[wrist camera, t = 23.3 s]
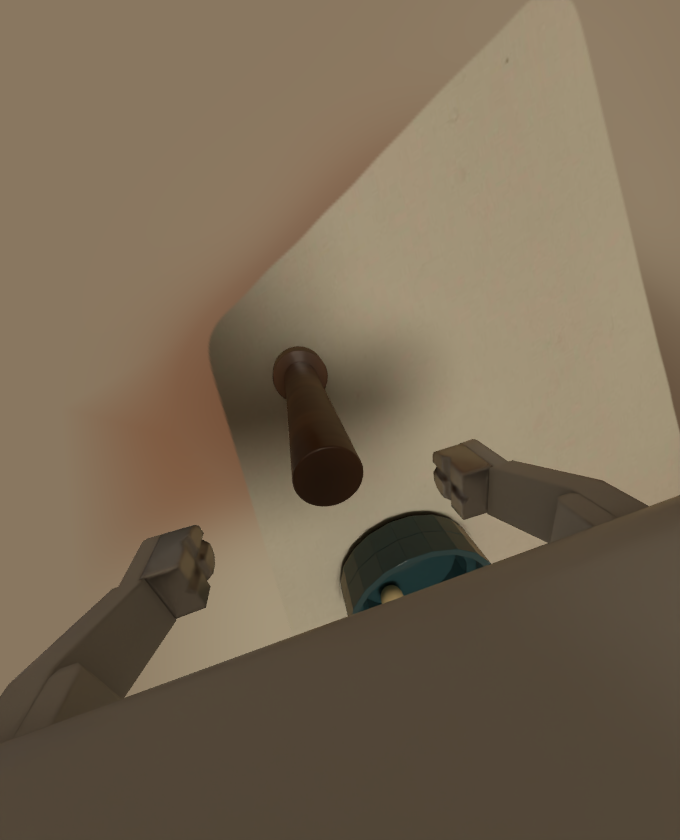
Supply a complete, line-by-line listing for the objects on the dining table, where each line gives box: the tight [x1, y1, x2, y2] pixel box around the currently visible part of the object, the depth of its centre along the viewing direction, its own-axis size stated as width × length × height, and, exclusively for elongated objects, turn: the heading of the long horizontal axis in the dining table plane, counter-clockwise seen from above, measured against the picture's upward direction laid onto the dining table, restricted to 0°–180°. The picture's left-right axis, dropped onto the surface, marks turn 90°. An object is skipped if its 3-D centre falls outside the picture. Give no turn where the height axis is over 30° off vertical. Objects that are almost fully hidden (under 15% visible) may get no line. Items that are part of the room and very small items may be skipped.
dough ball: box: [381, 585, 404, 604], centre depth 36 cm, size 3×3×3 cm
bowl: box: [341, 515, 491, 616], centre depth 35 cm, size 18×18×6 cm
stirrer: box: [273, 346, 363, 506], centre depth 17 cm, size 4×4×16 cm
